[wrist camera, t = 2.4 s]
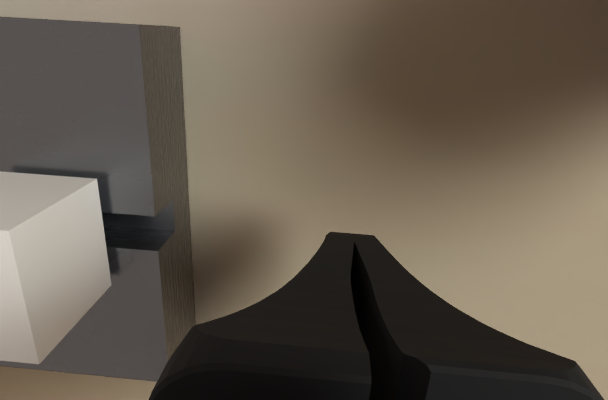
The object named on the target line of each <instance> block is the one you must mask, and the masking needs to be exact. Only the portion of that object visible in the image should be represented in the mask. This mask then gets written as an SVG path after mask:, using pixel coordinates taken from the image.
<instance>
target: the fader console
mask: <svg viewBox="0 0 608 400" xmlns="http://www.w3.org/2000/svg"><path fill="white" fill-rule="evenodd" d="M0 171H2V172H15V173H28V174H41V175H55V176H68V177H81V178H94V179H97V183H98V190H99V197H100V204H101V212H102V218H103V226H104V234H105V241H106V248H107V255H108V263H109V270H110V277H111V286H110V287H109V288H108V289H107V290H106V292H105V293H104V294H103V295H102V296H101V297H100V298H99V299H98V300H97V301H96V303H95V304H94V305H93V306H92V307H91V308H90V309H89V310H88V311H87V312H86V314H85V315H84V316H83V317H82V318H81V319H80V320H79V321H78V322H77V323H76V325H75V326H74V327H73V328H72V329H71V330H70V331H69V332H68V333H67V334H66V336H65V337H64V338H63V339H62V340H61V341H60V342H59V343H58V344H57V345H56V347H55V348H54V349H53V350H52V351H51V352H50V353H49V354H48V355H47V356H46V358H45V359H44V360H43V361H42V362H41V363H40V364H30V363H20V362H10V361H0V366H7V367H17V368H27V369H37V370H47V371H57V372H67V373H77V374H87V375H97V376H107V377H117V378H127V379H137V380H147V381H158V379H159V377H160V375H161V373H162V371H163V369H164V368H165V366H166V364H167V362H168V360H169V359H170V357H171V356H172V354H173V353H174V351H175V350H176V348H177V347H178V346H179V344H180V343H181V342H182V340H183V339H184V337H185V336H186V335H187V333H188V332H189V331H190V329H191V328H192V327H193V326H194V325H195V309H194V290H193V271H192V252H191V233H190V214H189V196H188V177H187V158H186V139H185V120H184V101H183V82H182V63H181V45H180V27H170V26H153V25H136V24H118V23H100V22H82V21H65V20H47V19H29V18H11V17H0Z"/></svg>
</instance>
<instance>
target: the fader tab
mask: <svg viewBox="0 0 608 400" xmlns="http://www.w3.org/2000/svg"><path fill="white" fill-rule="evenodd" d="M110 286H111V277H110V270H109V263H108V255H107V248H106V241H105V234H104V226H103V218H102V212H101V204H100V197H99V190H98V183H97V179H94V178H81V177H68V176H55V175H41V174H28V173H15V172H2V171H0V361H10V362H20V363H30V364H40V363H41V362H42V361H43V360H44V359H45V358H46V356H47V355H48V354H49V353H50V352H51V351H52V350H53V349H54V348H55V347H56V345H57V344H58V343H59V342H60V341H61V340H62V339H63V338H64V337H65V336H66V334H67V333H68V332H69V331H70V330H71V329H72V328H73V327H74V326H75V325H76V323H77V322H78V321H79V320H80V319H81V318H82V317H83V316H84V315H85V314H86V312H87V311H88V310H89V309H90V308H91V307H92V306H93V305H94V304H95V303H96V301H97V300H98V299H99V298H100V297H101V296H102V295H103V294H104V293H105V292H106V290H107V289H108V288H109V287H110Z"/></svg>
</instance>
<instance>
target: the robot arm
mask: <svg viewBox="0 0 608 400" xmlns="http://www.w3.org/2000/svg"><path fill="white" fill-rule="evenodd" d="M149 400H604V399H603V398H602V396H601V395H600V393H599V392H598V391H597V389H596V388H595V387H594V385H593V384H592V383H591V381H590V380H589V379H588V377H587V376H586V374H585V373H584V372H583V370H582V369H581V368H580V367H579V365H578V364H577V363H576V362H575V361H573V360H570V359H567V358H565V357H562V356H559V355H556V354H554V353H551V352H548V351H545V350H543V349H540V348H537V347H534V346H532V345H529V344H526V343H524V342H522V341H519V340H517V339H515V338H513V337H510V336H508V335H506V334H504V333H501V332H499V331H497V330H495V329H493V328H491V327H489V326H487V325H485V324H483V323H481V322H479V321H477V320H476V319H474V318H472V317H470V316H469V315H467V314H465V313H463V312H462V311H460V310H458V309H457V308H455V307H453V306H452V305H450V304H449V303H447V302H446V301H444V300H443V299H442V298H440V297H439V296H437V295H436V294H435V293H433V292H432V291H430V290H429V289H428V288H427V287H425V286H424V285H423V284H422V283H420V282H419V281H418V280H417V279H416V278H415V277H414V276H412V275H411V274H410V273H409V272H408V271H407V270H406V269H405V268H404V267H403V266H402V265H401V264H400V263H399V262H398V261H397V260H396V259H395V258H394V257H393V256H392V255H391V254H390V253H389V252H388V251H387V250H386V248H385V247H384V246H383V245H382V244H381V243H380V242H379V241H378V239H377V238H376V237H375V236H374V235H362V234H350V233H337V232H330V233H328V234H327V235H326V238H325V240H324V242H323V243H322V245H321V247H320V248H319V250H318V251H317V252H316V254H315V255H314V256H313V257H312V259H311V260H310V261H309V262H308V264H307V265H306V266H305V267H304V268H303V269H302V270H301V271H300V272H299V273H298V274H297V275H296V276H295V277H294V278H293V279H292V280H290V281H289V282H288V283H287V284H286V285H284V286H283V287H282V288H280V289H279V290H278V291H276V292H275V293H273V294H271V295H270V296H268V297H266V298H265V299H263V300H261V301H260V302H258V303H256V304H254V305H252V306H249V307H247V308H245V309H243V310H240V311H238V312H236V313H233V314H230V315H228V316H225V317H222V318H218V319H215V320H212V321H209V322H205V323H202V324H198V325H194V326H193V327H192V328H191V329H190V331H189V332H188V333H187V335H186V336H185V337H184V339H183V340H182V342H181V343H180V344H179V346H178V347H177V348H176V350H175V351H174V353H173V354H172V356H171V357H170V359H169V360H168V362H167V364H166V366H165V368H164V369H163V371H162V373H161V375H160V377H159V379H158V381H157V383H156V385H155V387H154V389H153V391H152V393H151V395H150V398H149Z"/></svg>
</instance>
